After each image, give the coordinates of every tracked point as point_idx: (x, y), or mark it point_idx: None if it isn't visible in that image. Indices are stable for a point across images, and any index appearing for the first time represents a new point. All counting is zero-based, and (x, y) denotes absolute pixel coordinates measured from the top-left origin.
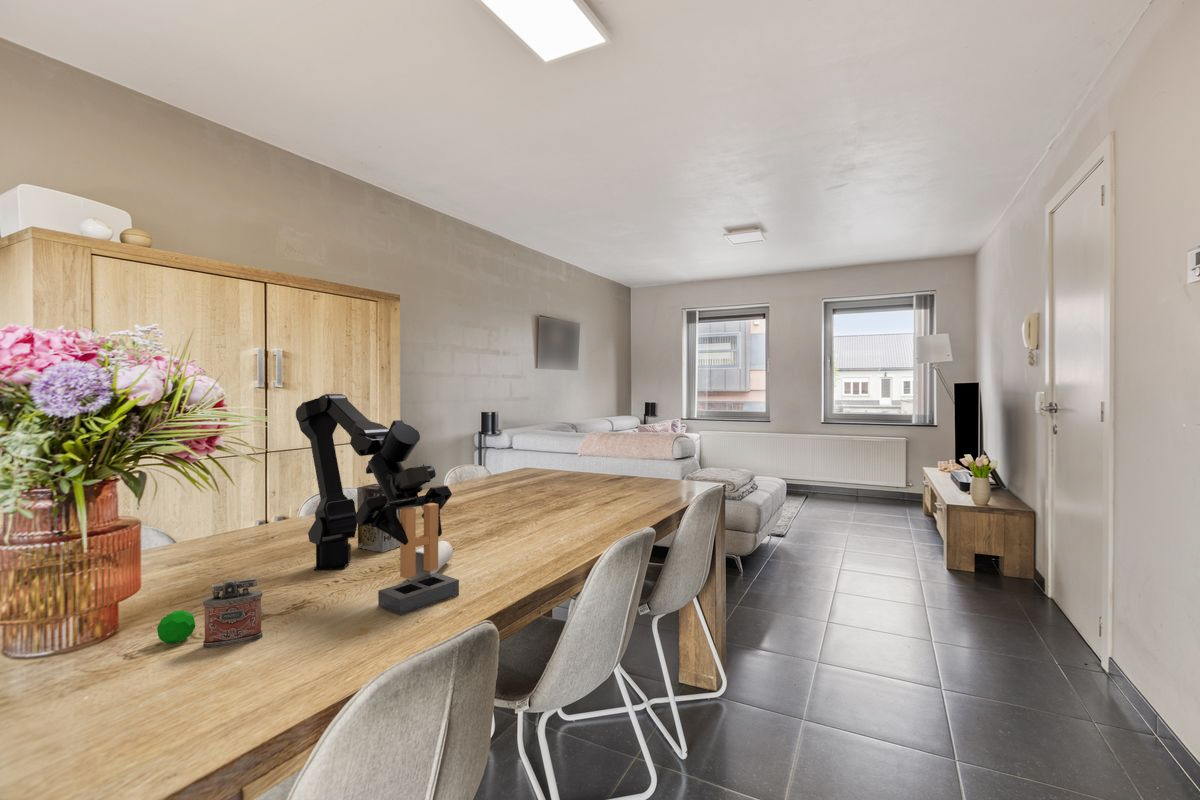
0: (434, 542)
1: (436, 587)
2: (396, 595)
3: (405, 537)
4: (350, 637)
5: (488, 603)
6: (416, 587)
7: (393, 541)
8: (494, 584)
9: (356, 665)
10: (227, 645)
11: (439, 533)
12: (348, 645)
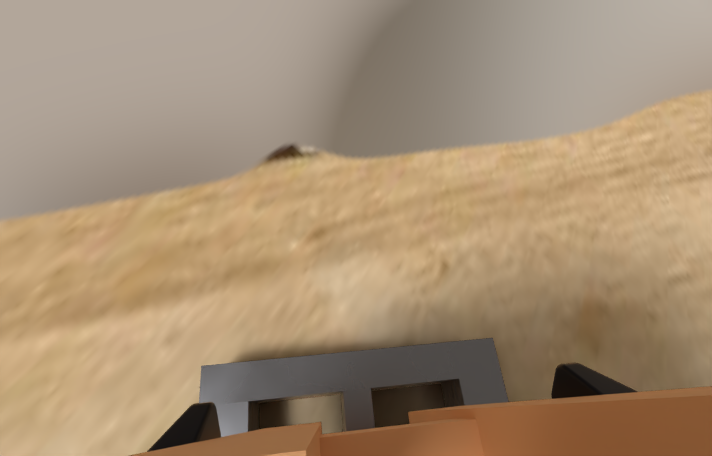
0: (271, 430)
1: (325, 354)
2: (490, 392)
3: (604, 379)
4: (630, 310)
5: (214, 228)
6: None
7: None
8: (42, 366)
9: (630, 169)
10: None
11: (215, 413)
12: (638, 267)
